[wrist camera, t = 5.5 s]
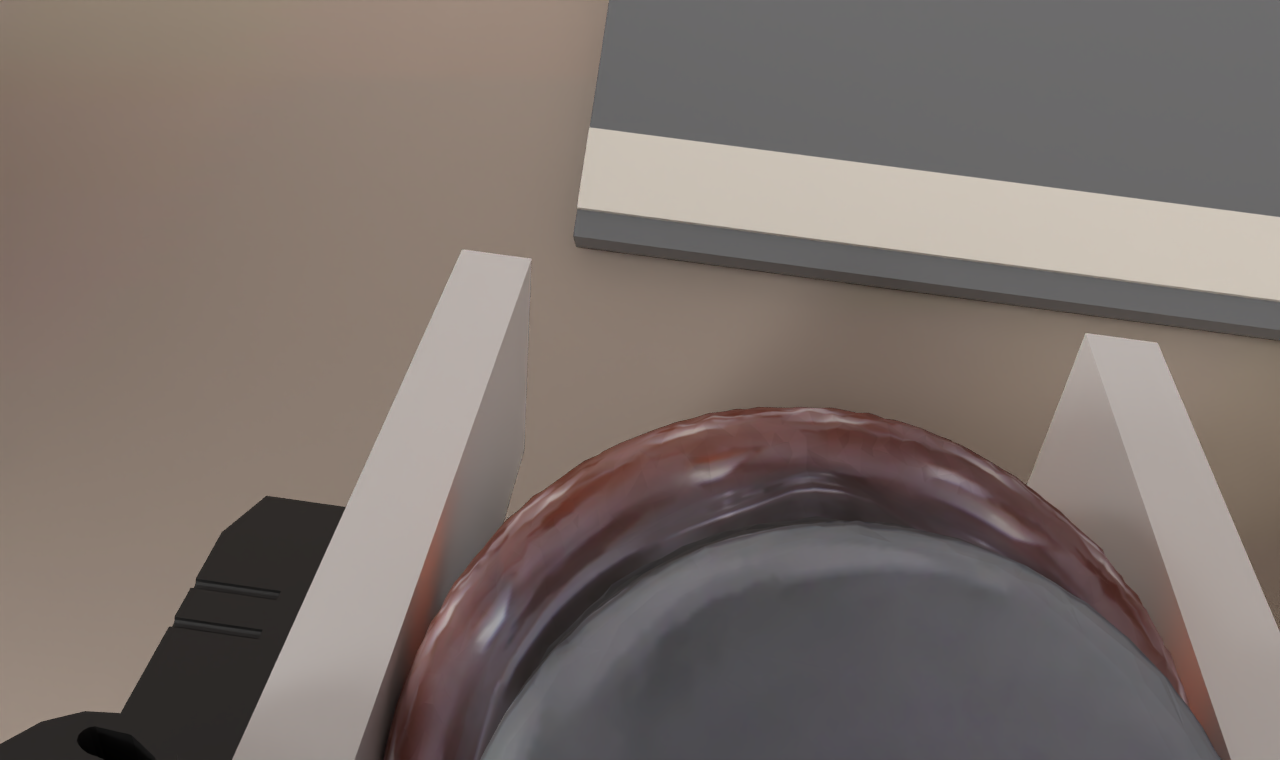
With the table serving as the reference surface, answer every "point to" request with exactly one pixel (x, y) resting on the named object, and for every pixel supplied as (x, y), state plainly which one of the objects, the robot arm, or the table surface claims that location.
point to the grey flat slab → (953, 149)
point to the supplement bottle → (792, 612)
